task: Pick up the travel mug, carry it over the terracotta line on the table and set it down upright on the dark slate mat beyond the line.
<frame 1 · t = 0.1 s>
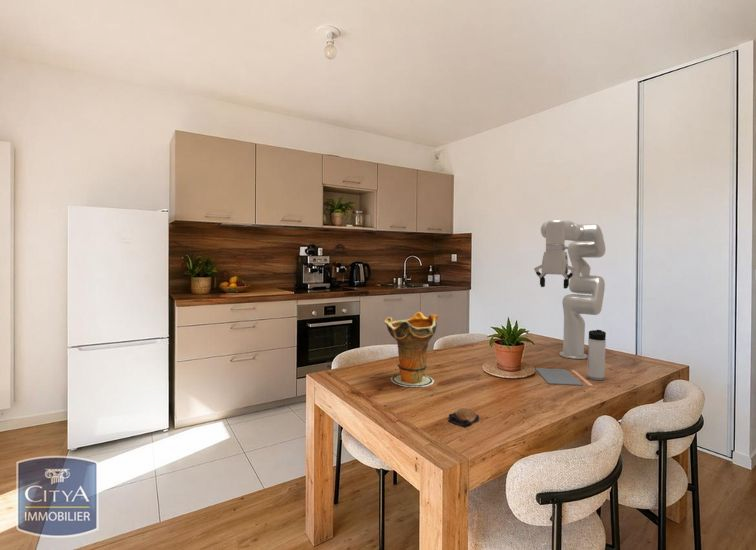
hand: (553, 287, 169), 37 cm above the table, tool pointing down, fingers open, 9 cm apart
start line: (581, 378, 161), on the table
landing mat: (557, 376, 162), on the table
decorative vase: (412, 380, 158), on the table
travel mug: (595, 378, 161), on the table
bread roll: (463, 421, 121), on the table
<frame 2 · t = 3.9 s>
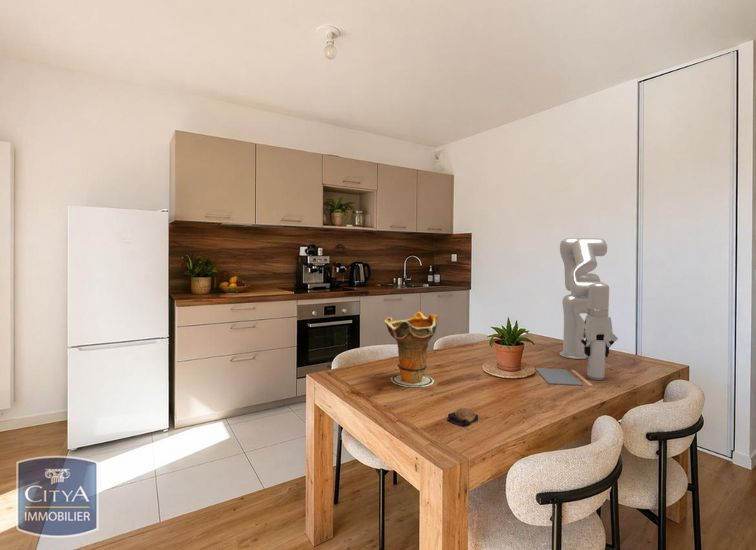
hand: (596, 355, 160), 10 cm above the table, tool pointing down, fingers closed on travel mug, 6 cm apart
travel mug: (595, 378, 161), on the table, touching gripper
everything else where it was.
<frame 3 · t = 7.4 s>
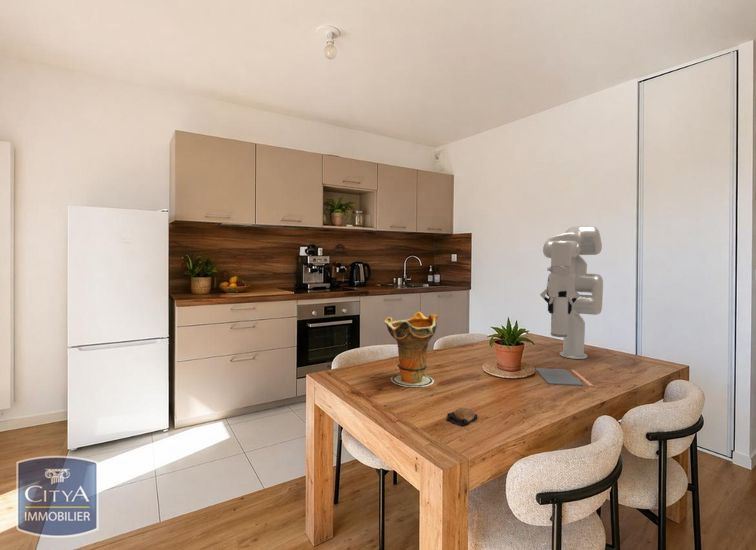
hand: (559, 312, 161), 27 cm above the table, tool pointing down, fingers closed on travel mug, 6 cm apart
travel mug: (559, 336, 161), point 17 cm above the table, touching gripper
everything else where it was.
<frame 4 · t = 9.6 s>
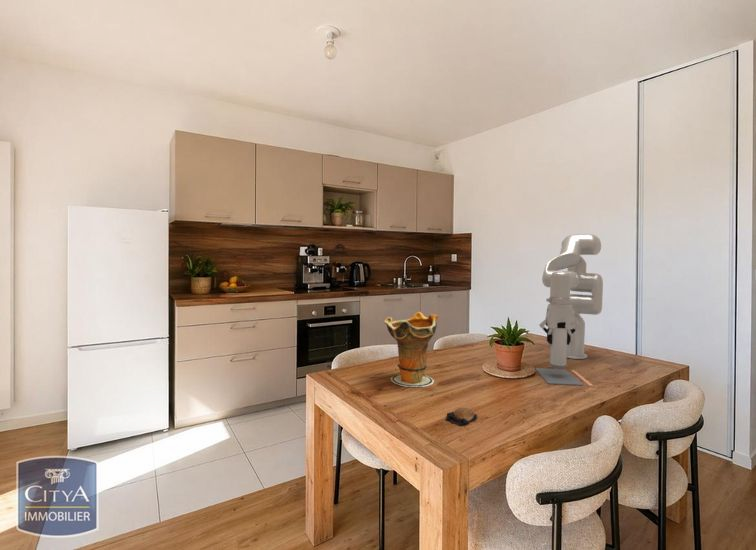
hand: (558, 343, 161), 14 cm above the table, tool pointing down, fingers closed on travel mug, 6 cm apart
travel mug: (558, 366, 162), point 5 cm above the table, touching gripper
everything else where it was.
when the fingers open (11 cm above the table, at t = 11.2 s): travel mug drops 1 cm, resting on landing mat.
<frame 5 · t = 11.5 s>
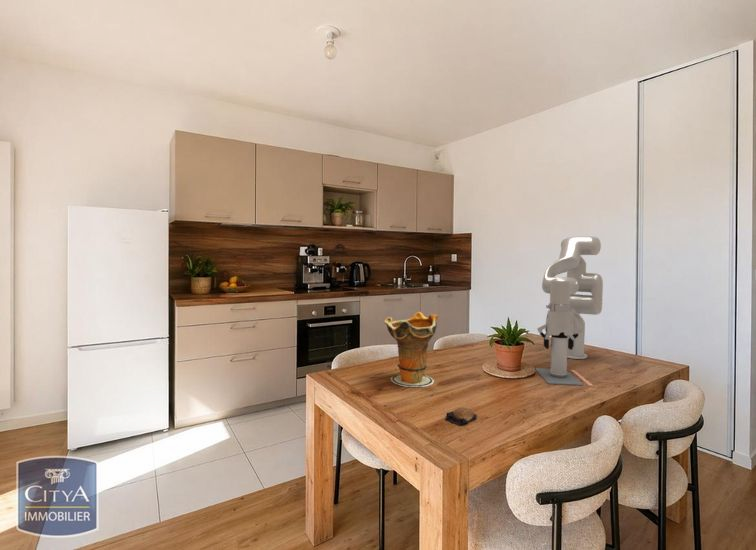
hand: (558, 348, 161), 12 cm above the table, tool pointing down, fingers open, 9 cm apart
travel mug: (558, 376, 162), resting on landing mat
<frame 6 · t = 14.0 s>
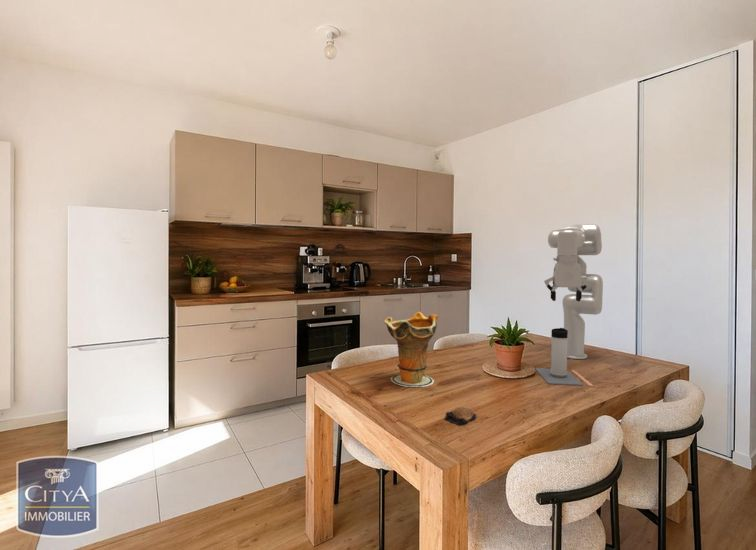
hand: (565, 300, 161), 32 cm above the table, tool pointing down, fingers open, 9 cm apart
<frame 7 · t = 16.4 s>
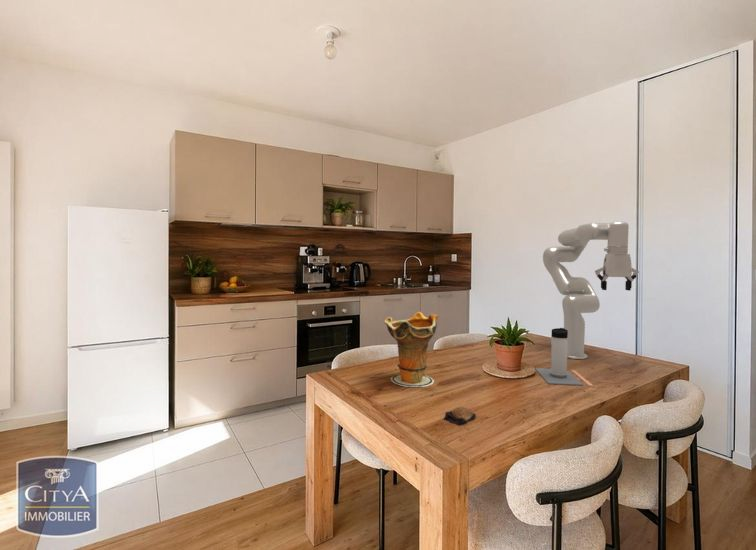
hand: (615, 290, 167), 36 cm above the table, tool pointing down, fingers open, 9 cm apart
at the end: travel mug inside the target area (0.4 cm from its centre), resting on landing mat; travel mug tilted 0°; the gripper is holding nothing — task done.
